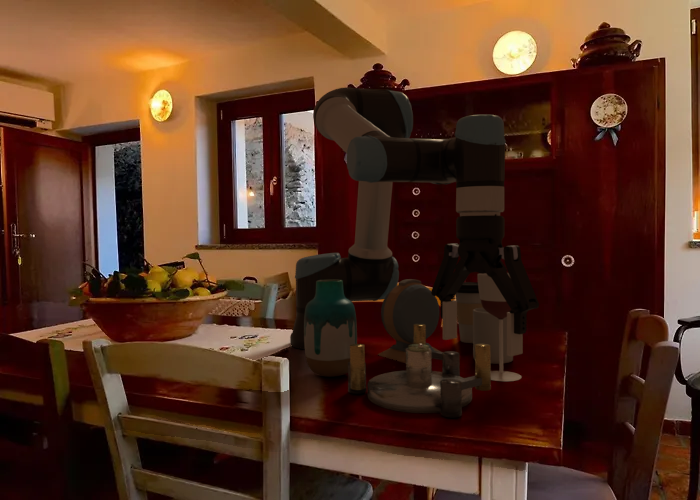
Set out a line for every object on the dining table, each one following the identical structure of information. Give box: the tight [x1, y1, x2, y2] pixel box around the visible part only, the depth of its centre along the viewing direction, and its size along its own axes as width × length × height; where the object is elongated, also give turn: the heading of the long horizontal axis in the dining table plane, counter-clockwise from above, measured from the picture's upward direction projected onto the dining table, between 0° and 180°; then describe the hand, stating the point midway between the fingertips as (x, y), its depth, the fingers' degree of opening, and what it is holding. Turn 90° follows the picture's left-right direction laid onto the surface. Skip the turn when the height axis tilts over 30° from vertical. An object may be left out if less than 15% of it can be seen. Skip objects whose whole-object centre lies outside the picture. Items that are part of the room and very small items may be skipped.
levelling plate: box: [366, 344, 473, 414], centre depth 89 cm, size 18×18×9 cm
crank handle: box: [413, 324, 461, 377], centre depth 99 cm, size 10×3×10 cm, turn 49°
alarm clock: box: [377, 278, 442, 364], centre depth 119 cm, size 14×10×18 cm
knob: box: [347, 343, 367, 395], centre depth 88 cm, size 10×3×10 cm, turn 1°
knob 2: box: [440, 344, 492, 419], centre depth 80 cm, size 10×3×10 cm, turn 122°
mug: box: [472, 308, 514, 365], centre depth 115 cm, size 12×8×11 cm
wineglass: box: [477, 272, 523, 382], centre depth 100 cm, size 8×9×20 cm
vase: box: [304, 279, 358, 378], centre depth 103 cm, size 11×11×19 cm
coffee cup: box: [454, 281, 483, 344], centre depth 133 cm, size 9×9×15 cm
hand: (480, 346), depth 83 cm, fingers open, 13 cm apart
